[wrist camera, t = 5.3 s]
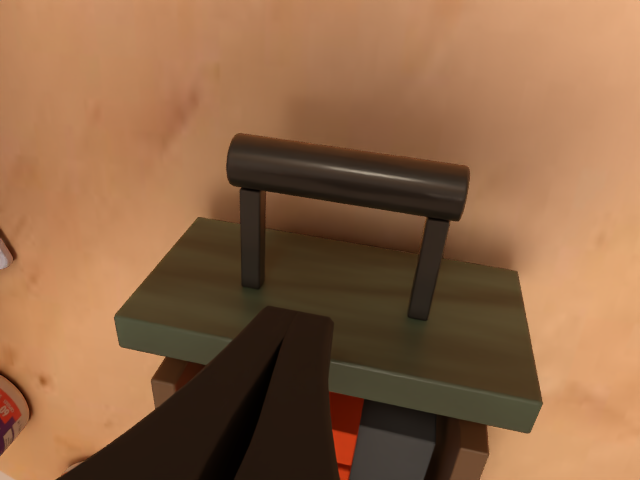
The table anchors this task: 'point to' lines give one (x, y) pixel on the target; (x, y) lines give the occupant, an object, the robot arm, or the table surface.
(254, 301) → the drawer
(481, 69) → the table surface
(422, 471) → the grey and orange blocks
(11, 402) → the pill bottle
